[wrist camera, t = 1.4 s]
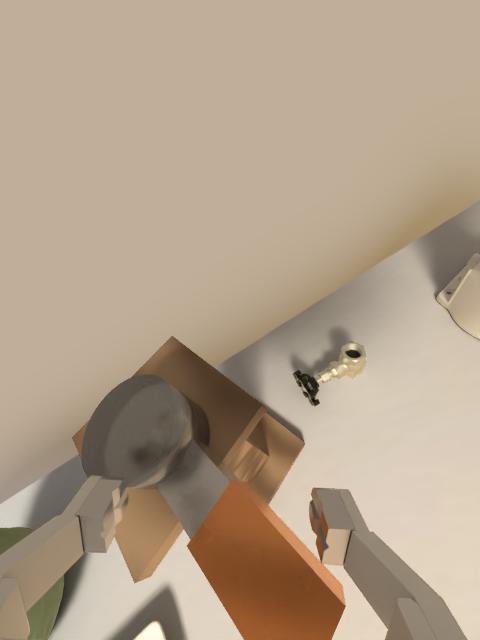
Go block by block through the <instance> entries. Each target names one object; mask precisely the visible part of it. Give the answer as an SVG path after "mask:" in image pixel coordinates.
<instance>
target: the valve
mask: <svg viewBox="0 0 480 640" xmlns="http://www.w3.org/2000/svg"><path fill="white" fill-rule="evenodd" d="M365 358H366V354H365V350H364V347H363V346H362V345H360V344H358V343H354V342H349V343H347V344H346V345H344V346H343V347H341V354H340V356H339V360H338V361H332V362H331V363H329V368H328V371H325V370H323V371H322V372H320V373H318V376H319V377H317V378H314V377H310V376H309V375H308V374H301V372H300V371H299V370H297V371H296V372H294V373H293V376H294V377H295V379H297V381H296V382H297V384H298V386H299V387H301V389H302V390H303V394H304V396H305V397H308V399H309V402H310V403H311V405H312V406H313V405H314V406H316V405H318V404H320V402H319V400H318V399H317V400H315V398H314V396H316V394H317V393H318V391H319V389H318V387H319V383H321V382H323V383H326V382H328V381H329V380H331V377H334V378H335V377H337V378H339V379H340V378H342V377H343V376H345V375H346V376H348V377H351V378H354V377H356V376H357V375H359V374H361V373H362V370H363V368H364V366H365V363H366V360H365ZM300 374H301V375H300ZM303 377H304V378H303ZM305 377H307V379H306V378H305Z"/></svg>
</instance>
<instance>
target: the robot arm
mask: <svg viewBox="0 0 480 640" xmlns="http://www.w3.org/2000/svg"><path fill="white" fill-rule="evenodd" d="M436 299H437V301H438V302H439V303H440V304H441V305H443V306H444V307H445V308H447V309H448V311H449V312H450V314H451V316H452V317H453V319H454V320H455V322H456V323H457V324H458V325H459V326H460V327H461V328H462V329H463V330H465V331H466V332H467V333H469V334H471V335H472V336H474V337H476V338H478V339H480V254H479V253H474V254H473V255H472V257H471V258H470V260H469V261H468V263H467V265H466V266H465V267H464V268H463V269H462V270H461V271H460V272H459V273H458V274H457V275H456V276H455V277H454V278H453V279H452V281H451V282H450V283H449V284H448V285H447V286H446V287H445V288H444V289H443V290H442V291H441V292H440V293H439V294H438V296H437V297H436ZM127 485H128V481H127V478H120V477H109V476H95V475H91V476H90V477H89V478H88V479H87V480H86V481H85V482H84V484H83V485H82V487H81V488H80V489H79V491H78V492H77V493H76V495H75V496H74V498H73V499H72V500H71V502H70V503H69V504H68V506H67V507H66V509H65V510H64V511H63V513H62V514H61V515H56V516H55V517H54V518H52V519H51V520H49V521H48V522H46V523H45V524H44V525H42V526H41V527H39V528H38V529H36V530H35V531H34V532H32V533H31V534H29V535H28V536H27V537H25V538H24V539H22V540H21V541H19V542H18V543H17V544H15V545H14V546H12V547H11V548H9V549H8V550H7V551H5V552H4V553H2V554H1V555H0V640H34V639H27V638H28V636H29V634H30V627H29V623H28V619H27V615H26V612H27V611H28V610H29V609H30V608H31V607H32V606H33V605H34V604H35V603H36V602H37V601H38V600H39V599H40V598H41V597H42V596H43V595H44V594H45V593H46V592H47V591H48V590H49V589H50V588H51V587H52V586H53V585H54V584H55V583H56V582H57V581H58V580H59V579H60V578H61V577H62V576H63V575H64V574H65V572H66V571H67V570H68V569H69V568H70V567H71V566H72V565H73V564H74V563H75V562H76V561H77V560H78V559H79V558H80V557H81V556H82V555H83V554H84V552H92V553H106V552H107V550H108V548H109V546H110V544H111V542H112V540H113V538H114V536H115V533H116V528H115V526H116V525H117V524H118V523H119V522H120V521H121V520H122V519H123V516H124V514H125V512H126V508H127V505H128V499H129V493H128V491H127V490H126V487H127ZM311 495H312V498H313V500H312V501H311V502H310V506H309V517H310V522H311V527H312V530H313V531H314V533H315V534H316V535H317V540H316V545H317V549H318V553H319V556H320V560H321V564H328V565H340V566H344V569H345V570H346V571H347V573H348V574H349V576H350V577H351V578H352V580H353V581H354V583H355V584H356V585H357V587H358V588H359V590H360V591H361V592H362V594H363V595H364V597H365V598H366V599H367V601H368V602H369V604H370V605H371V606H372V608H373V609H374V611H375V612H376V613H377V615H378V616H379V617H380V619H381V620H382V622H383V623H384V624H385V626H386V627H387V629H388V631H387V635H386V638H385V640H467V638H466V637H465V635H464V633H463V632H462V630H461V628H460V627H459V625H458V623H457V622H456V620H455V618H454V617H453V615H452V613H451V612H450V610H449V608H448V607H447V605H446V603H445V602H444V600H443V599H442V598H441V597H440V596H439V595H438V594H437V593H436V592H435V591H434V590H433V589H432V588H431V587H430V586H429V585H428V584H427V583H426V582H425V581H424V580H423V579H422V578H421V577H420V576H418V575H417V574H416V573H415V572H414V571H413V570H412V569H411V568H410V567H409V566H408V565H407V564H406V563H405V562H404V561H403V560H402V559H401V558H400V557H399V556H398V555H397V554H396V553H395V552H394V551H393V550H391V549H390V548H389V547H388V546H387V545H386V544H385V543H384V542H383V541H382V540H381V539H380V538H379V537H378V536H377V535H376V534H375V533H374V532H369V530H368V527H367V525H366V523H365V521H364V519H363V517H362V515H361V513H360V511H359V509H358V507H357V505H356V503H355V501H354V499H353V497H352V495H351V493H350V491H349V490H348V489H335V488H313V489H312V493H311Z"/></svg>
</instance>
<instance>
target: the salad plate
mask: <svg viewBox="0 0 480 640" xmlns="http://www.w3.org/2000/svg"><path fill="white" fill-rule="evenodd" d="M133 640H166V637H165V633H164V630H163V627H162V625H161V623H160V622H159V621H157V620H154V621H152V622H151V623H149V624H148V625H147V626H146V627H145V628H144V629H143V630H142V631H141V632H140V633H139V634H138V635H137V636H136V637H135V638H134V639H133Z"/></svg>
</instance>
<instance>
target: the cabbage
mask: <svg viewBox="0 0 480 640" xmlns="http://www.w3.org/2000/svg"><path fill="white" fill-rule="evenodd" d="M32 532H34V531H33V530H31V529H28V528H22V527H14V528H0V555H1V554H2V553H4V552H5V551H7V550H8V549H9V548H11V547H12V546H14V545H15V544H17V543H18V542H19V541H21V540H22V539H24V538H25V537H27V536H28V535H29V534H31V533H32ZM63 588H64V575H63V576H62V577H61V578H60V579H59V580H58V581H57V582H56V583H55V584H54V585H53V586H52V587H51V588H50V589H49V590H48V591H47V592H46V593H45V594H44V595H43V596H42V597H41V598H40V599H39V600H38V601H37V602H36V603H35V604H34V605H33V606H32V607H31V608H30V609H29V610H28V611H27V612H26V615H27V619H28V623H29V627H30V634H29V636H28V638H27V639H34V640H48V638H49V635H50V633H51V631H52V628H53V626H54V623H55V620H56V617H57V613H58V610H59V606H60V602H61V600H62V596H63Z"/></svg>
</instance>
